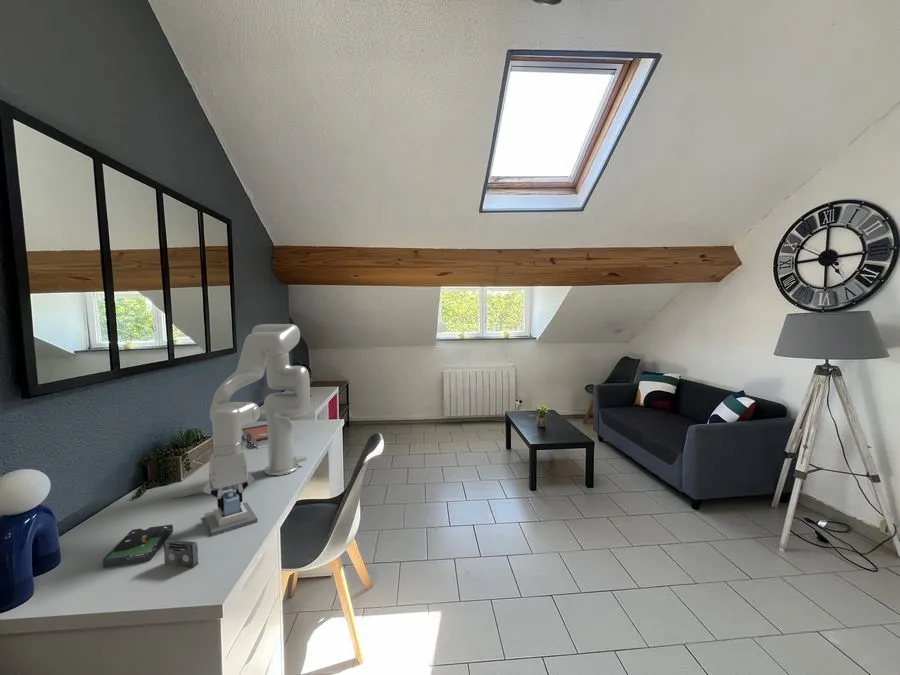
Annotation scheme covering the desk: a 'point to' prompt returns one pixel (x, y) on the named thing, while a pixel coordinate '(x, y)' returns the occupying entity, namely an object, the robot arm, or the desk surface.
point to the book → (257, 435)
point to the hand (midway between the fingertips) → (230, 506)
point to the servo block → (230, 502)
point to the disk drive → (138, 546)
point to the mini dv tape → (181, 553)
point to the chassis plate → (229, 519)
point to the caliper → (194, 491)
